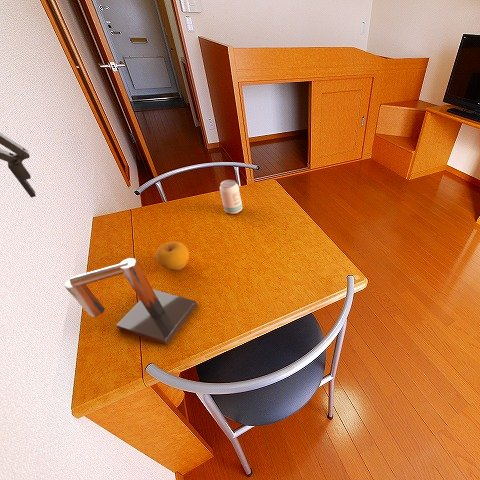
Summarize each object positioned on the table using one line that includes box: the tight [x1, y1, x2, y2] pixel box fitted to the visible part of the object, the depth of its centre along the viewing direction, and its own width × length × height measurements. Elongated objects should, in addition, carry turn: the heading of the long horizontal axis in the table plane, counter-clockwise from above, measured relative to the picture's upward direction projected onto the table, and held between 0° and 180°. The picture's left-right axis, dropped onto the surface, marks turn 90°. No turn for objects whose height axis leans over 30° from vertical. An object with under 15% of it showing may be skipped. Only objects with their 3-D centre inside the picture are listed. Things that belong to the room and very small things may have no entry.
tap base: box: [115, 288, 198, 346], centre depth 71 cm, size 14×12×2 cm
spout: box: [63, 257, 164, 318], centre depth 62 cm, size 13×3×18 cm, turn 119°
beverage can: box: [219, 179, 243, 215], centre depth 105 cm, size 7×7×12 cm
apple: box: [154, 241, 190, 271], centre depth 82 cm, size 9×9×9 cm
